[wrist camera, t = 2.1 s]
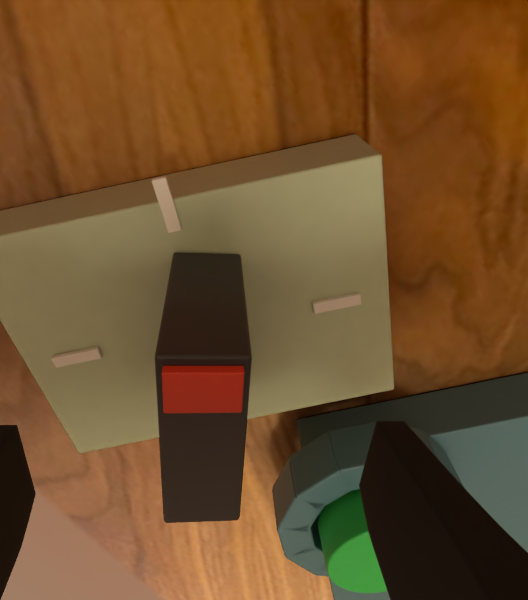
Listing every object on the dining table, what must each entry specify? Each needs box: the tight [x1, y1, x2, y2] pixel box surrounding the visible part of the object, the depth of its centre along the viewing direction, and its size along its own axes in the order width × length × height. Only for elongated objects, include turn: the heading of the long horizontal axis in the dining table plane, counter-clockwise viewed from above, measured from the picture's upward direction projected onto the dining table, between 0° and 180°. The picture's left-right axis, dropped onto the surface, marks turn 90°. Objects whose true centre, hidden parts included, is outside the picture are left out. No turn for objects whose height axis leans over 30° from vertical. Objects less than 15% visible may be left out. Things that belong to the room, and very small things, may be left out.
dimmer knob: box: [155, 252, 252, 523], centre depth 12 cm, size 5×2×5 cm, turn 176°
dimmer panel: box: [0, 134, 394, 453], centre depth 15 cm, size 11×9×3 cm
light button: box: [318, 489, 387, 593], centre depth 17 cm, size 4×4×2 cm
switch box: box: [272, 373, 528, 600], centre depth 20 cm, size 18×13×4 cm
